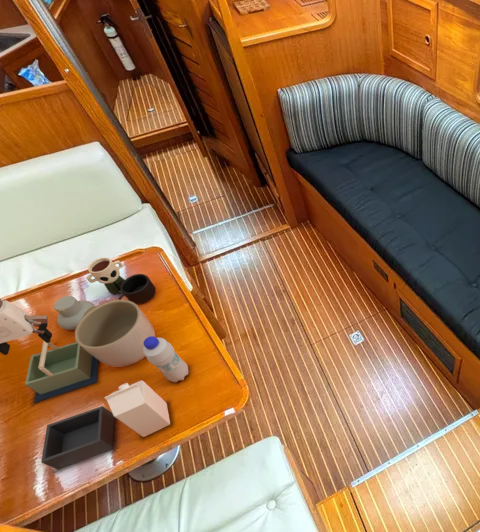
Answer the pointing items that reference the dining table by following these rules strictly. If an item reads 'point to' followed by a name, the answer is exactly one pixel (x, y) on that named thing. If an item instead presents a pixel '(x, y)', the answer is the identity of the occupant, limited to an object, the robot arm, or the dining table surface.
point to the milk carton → (139, 408)
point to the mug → (138, 289)
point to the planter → (114, 333)
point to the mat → (73, 386)
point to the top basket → (58, 367)
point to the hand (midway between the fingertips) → (28, 344)
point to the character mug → (106, 274)
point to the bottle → (165, 358)
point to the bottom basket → (78, 438)
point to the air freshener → (71, 311)
